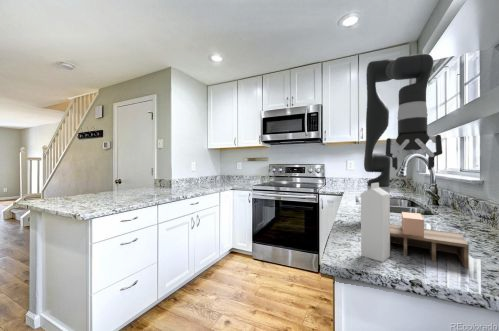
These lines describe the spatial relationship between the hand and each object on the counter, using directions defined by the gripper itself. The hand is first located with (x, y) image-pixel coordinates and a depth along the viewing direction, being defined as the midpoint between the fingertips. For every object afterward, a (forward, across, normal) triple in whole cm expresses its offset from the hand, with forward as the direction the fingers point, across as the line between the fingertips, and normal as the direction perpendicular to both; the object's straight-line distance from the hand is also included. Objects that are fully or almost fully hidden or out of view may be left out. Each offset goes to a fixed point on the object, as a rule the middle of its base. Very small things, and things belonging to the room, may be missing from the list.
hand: (412, 169), depth 69 cm
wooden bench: (+26, -2, 0) cm, 26 cm away
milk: (+26, +9, +11) cm, 30 cm away
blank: (+20, 0, 0) cm, 20 cm away
